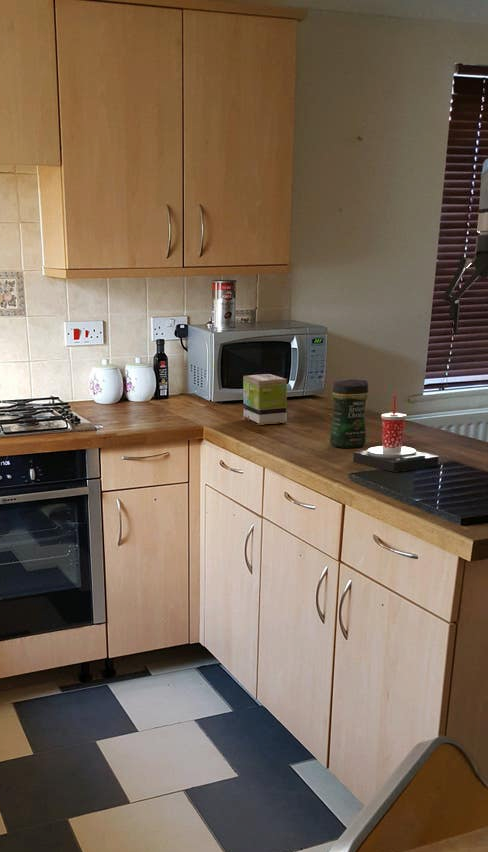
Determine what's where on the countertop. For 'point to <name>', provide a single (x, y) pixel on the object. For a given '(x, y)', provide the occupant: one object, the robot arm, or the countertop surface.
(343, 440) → the coffee jar
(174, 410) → the countertop surface
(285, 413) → the tea box
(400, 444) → the beverage cup
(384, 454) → the kitchen scale
